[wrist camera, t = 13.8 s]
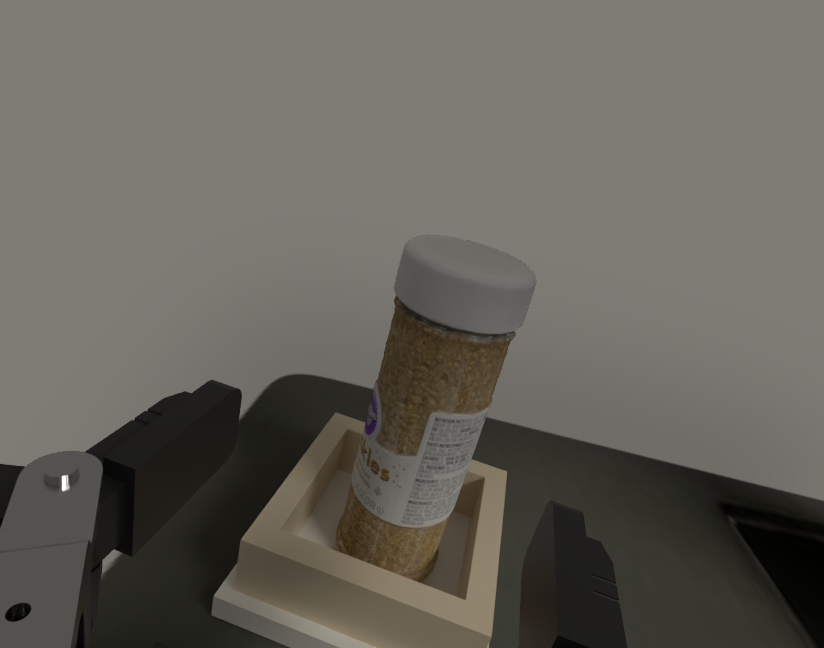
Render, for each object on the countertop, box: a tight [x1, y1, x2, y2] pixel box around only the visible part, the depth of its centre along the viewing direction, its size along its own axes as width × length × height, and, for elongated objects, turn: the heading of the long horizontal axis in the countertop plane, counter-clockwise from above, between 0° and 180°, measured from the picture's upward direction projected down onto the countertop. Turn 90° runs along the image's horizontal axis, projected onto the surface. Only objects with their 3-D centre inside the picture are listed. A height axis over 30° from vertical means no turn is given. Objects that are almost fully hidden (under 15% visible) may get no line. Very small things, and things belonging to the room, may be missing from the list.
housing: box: [211, 412, 507, 648], centre depth 22 cm, size 10×10×4 cm
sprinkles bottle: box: [336, 235, 536, 582], centre depth 19 cm, size 5×5×14 cm
